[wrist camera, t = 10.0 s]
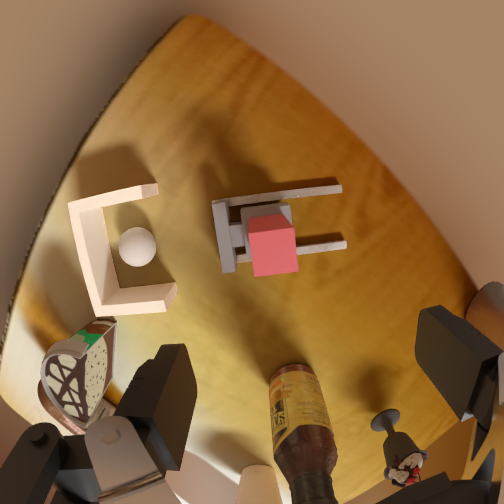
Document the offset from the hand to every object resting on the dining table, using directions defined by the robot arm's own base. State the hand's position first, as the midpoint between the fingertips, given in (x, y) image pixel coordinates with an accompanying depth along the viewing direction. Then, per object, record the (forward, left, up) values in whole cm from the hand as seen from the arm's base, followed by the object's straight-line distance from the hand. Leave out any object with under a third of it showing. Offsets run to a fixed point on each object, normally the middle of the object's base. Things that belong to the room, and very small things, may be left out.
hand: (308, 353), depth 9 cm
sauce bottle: (-1, +19, -23) cm, 30 cm away
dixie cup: (+6, +40, -23) cm, 47 cm away
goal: (+14, -1, -22) cm, 27 cm away
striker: (+2, -1, -21) cm, 21 cm away
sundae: (-15, +31, -23) cm, 41 cm away
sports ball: (+14, -1, -23) cm, 26 cm away
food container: (+24, +11, -23) cm, 35 cm away
